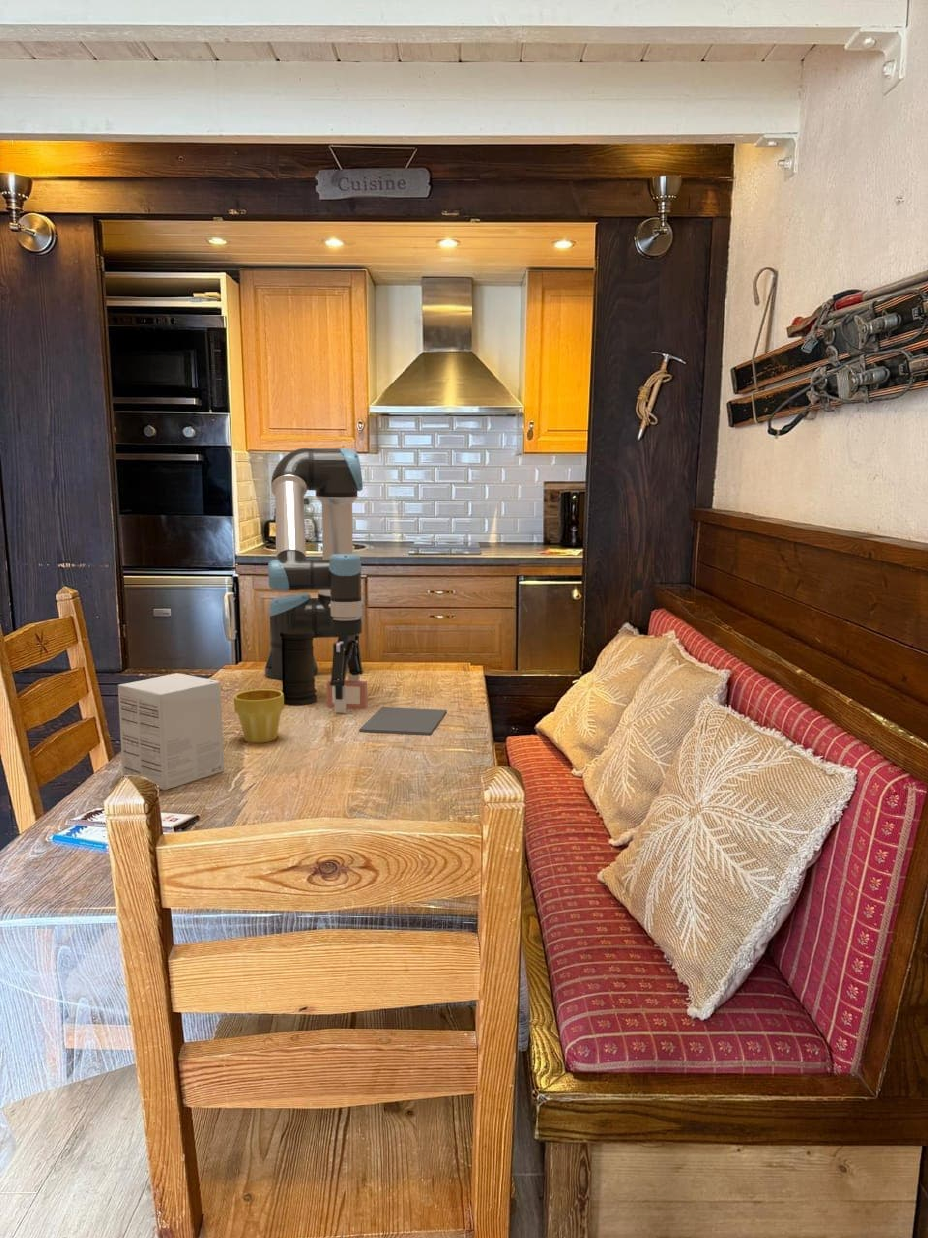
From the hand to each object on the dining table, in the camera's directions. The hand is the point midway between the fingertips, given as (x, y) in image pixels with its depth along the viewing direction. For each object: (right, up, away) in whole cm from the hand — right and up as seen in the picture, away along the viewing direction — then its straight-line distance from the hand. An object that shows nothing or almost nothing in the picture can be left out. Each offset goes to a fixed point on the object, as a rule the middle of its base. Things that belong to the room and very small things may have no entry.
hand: (347, 706), depth 206 cm
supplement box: (-25, -8, -50) cm, 57 cm away
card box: (0, 0, 0) cm, 0 cm away
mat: (+15, -2, -13) cm, 20 cm away
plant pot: (-15, -4, -27) cm, 31 cm away
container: (-13, 0, +6) cm, 14 cm away
